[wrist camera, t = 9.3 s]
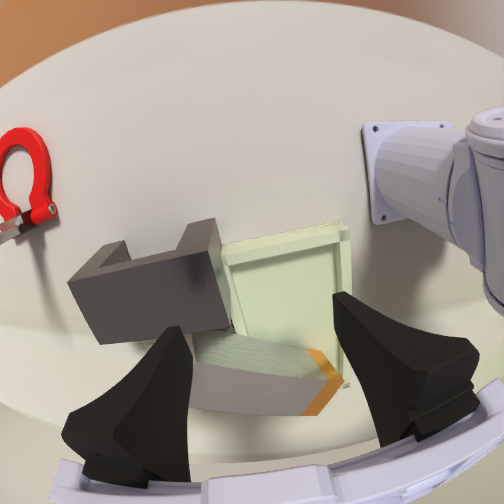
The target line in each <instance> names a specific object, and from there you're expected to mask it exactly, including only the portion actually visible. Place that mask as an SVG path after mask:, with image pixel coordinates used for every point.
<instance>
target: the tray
mask: <svg viewBox="0 0 504 504" xmlns="http://www.w3.org/2000/svg"><path fill="white" fill-rule="evenodd" d="M221 258H222V262H223V265H224V269H225V273H226V276H227V280H228V284H229V287H230V291H231V318H232V321H233V325H234V328H235V331H236V334H239V335H243V336H248V337H252V338H257V339H261V340H266V341H271V342H276V343H281V344H286V345H291V346H296V347H302V348H307V349H313V350H319V351H322V353H323V354H324V355H325V357H326V358H327V359H328V360H329V362H330V363H331V364H332V365H333V367H334V368H335V369H336V370H337V372H338V373H339V374H340V375H341V377H342V378H343V379H344V383H343V384H342V385H341V387H340V388H339V389H338V390H341V389H345V388H348V387H350V374H351V365H350V363H349V361H348V359H347V357H346V355H345V353H344V351H343V349H342V348H341V346H340V343H339V341H338V338H337V335H336V333H335V330H334V321H333V301H332V294H334V293H338V292H342V291H345V292H347V293H349V294H350V295H352V273H351V251H350V236H349V229H348V228H347V227H346V226H345V225H344V224H342V223H341V222H340V221H336V222H331V223H326V224H322V225H317V226H312V227H307V228H302V229H297V230H292V231H288V232H283V233H278V234H273V235H269V236H264V237H259V238H254V239H250V240H245V241H240V242H236V243H231V244H227V245H222V251H221ZM338 390H337V391H338Z"/></svg>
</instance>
